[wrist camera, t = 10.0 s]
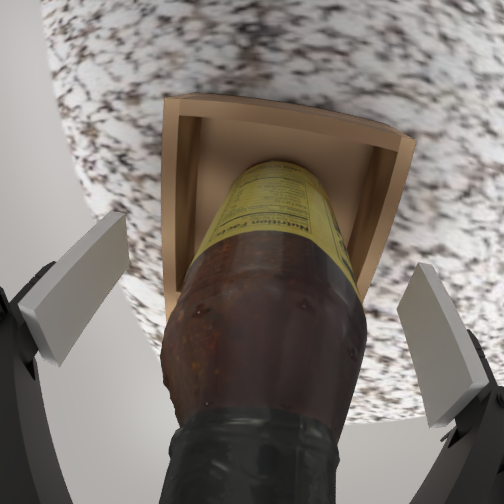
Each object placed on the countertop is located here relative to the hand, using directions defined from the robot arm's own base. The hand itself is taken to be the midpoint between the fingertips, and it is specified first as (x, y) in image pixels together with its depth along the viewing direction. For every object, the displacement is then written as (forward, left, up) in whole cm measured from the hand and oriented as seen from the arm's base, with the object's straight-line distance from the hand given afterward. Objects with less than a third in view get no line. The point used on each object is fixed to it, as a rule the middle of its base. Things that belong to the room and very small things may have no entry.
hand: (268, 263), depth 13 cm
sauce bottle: (0, 0, -8) cm, 8 cm away
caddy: (+4, 0, -8) cm, 9 cm away
